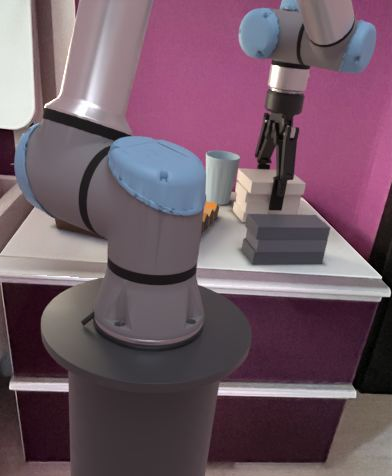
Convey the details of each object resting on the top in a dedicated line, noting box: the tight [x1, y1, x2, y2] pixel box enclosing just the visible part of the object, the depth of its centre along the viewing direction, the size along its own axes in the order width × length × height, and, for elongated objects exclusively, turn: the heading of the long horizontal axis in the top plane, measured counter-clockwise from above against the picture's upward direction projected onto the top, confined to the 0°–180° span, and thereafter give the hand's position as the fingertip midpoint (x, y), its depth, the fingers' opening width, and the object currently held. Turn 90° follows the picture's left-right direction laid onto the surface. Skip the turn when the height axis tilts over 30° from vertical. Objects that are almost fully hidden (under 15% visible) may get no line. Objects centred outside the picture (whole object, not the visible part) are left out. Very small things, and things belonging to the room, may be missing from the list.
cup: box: [205, 150, 241, 206], centre depth 127 cm, size 8×8×10 cm
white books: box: [232, 181, 302, 223], centre depth 122 cm, size 13×7×7 cm, turn 104°
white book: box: [236, 167, 307, 196], centre depth 120 cm, size 12×10×2 cm
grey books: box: [241, 214, 331, 265], centre depth 104 cm, size 14×6×7 cm, turn 104°
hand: (266, 201), depth 122 cm, fingers closed on white book, 9 cm apart
